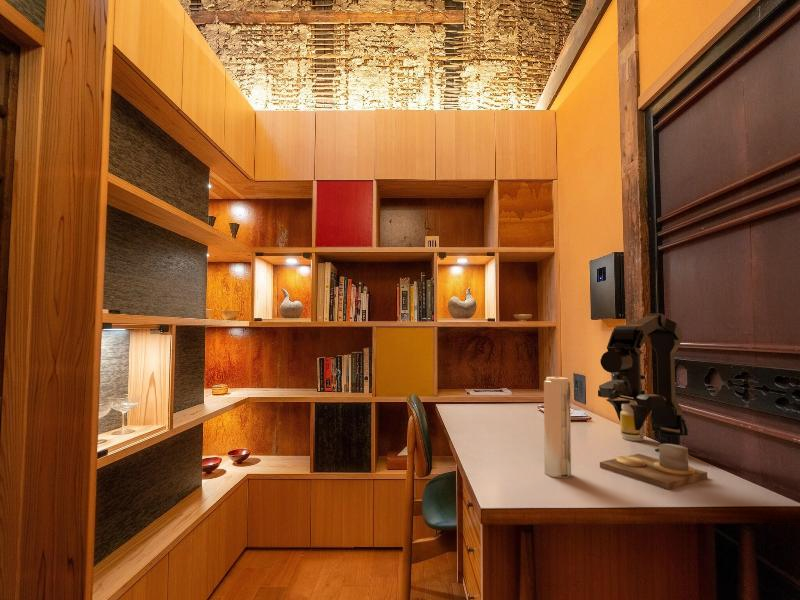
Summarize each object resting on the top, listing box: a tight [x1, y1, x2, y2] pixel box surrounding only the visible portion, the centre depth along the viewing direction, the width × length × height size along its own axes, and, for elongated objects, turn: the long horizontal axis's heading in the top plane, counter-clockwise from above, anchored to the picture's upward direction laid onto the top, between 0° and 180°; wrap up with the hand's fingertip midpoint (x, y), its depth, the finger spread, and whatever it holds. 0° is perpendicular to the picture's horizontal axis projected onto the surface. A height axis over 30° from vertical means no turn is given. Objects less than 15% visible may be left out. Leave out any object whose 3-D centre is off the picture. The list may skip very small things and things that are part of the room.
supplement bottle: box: [619, 403, 640, 437], centre depth 116 cm, size 5×5×8 cm
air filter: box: [543, 376, 572, 479], centre depth 110 cm, size 6×6×25 cm
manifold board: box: [599, 443, 708, 490], centre depth 112 cm, size 18×18×7 cm
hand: (630, 428), depth 116 cm, fingers closed on supplement bottle, 5 cm apart
